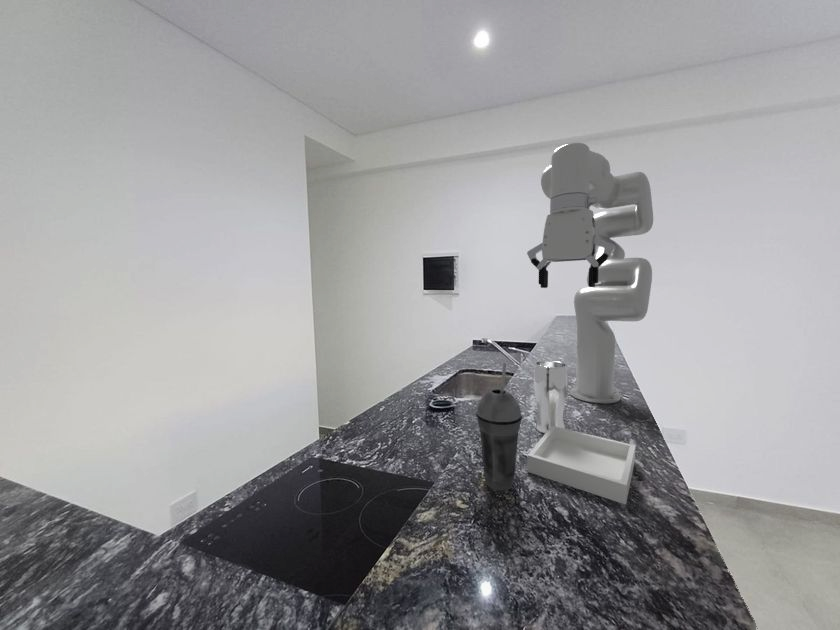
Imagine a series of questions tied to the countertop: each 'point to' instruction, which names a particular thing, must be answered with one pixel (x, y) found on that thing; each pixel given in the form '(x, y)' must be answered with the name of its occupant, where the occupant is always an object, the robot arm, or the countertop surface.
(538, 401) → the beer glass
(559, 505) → the countertop surface
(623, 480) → the tray
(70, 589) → the countertop surface
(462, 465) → the countertop surface
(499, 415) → the beverage cup
